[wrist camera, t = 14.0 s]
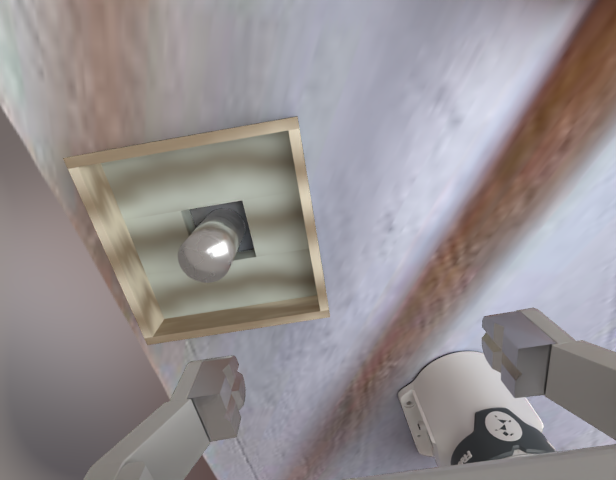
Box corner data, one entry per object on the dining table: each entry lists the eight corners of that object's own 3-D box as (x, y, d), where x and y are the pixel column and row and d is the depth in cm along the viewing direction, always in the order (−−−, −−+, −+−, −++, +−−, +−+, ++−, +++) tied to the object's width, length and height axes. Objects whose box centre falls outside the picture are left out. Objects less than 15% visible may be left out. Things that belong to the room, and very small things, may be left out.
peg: (249, 243, 39) (236, 278, 31) (210, 249, 39) (187, 286, 31) (239, 205, 37) (222, 231, 29) (199, 211, 37) (170, 240, 29)
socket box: (325, 289, 42) (330, 317, 36) (167, 314, 43) (147, 344, 37) (297, 116, 34) (297, 116, 28) (101, 150, 34) (63, 158, 29)
